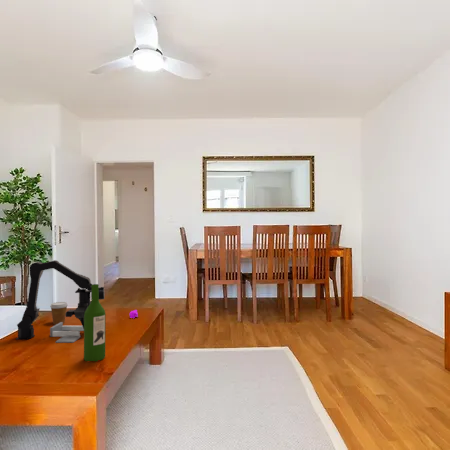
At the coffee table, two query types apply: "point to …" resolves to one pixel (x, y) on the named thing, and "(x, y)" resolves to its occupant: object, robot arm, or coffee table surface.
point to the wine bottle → (94, 328)
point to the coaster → (68, 339)
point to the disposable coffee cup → (58, 312)
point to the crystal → (133, 314)
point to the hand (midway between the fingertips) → (84, 328)
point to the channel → (65, 330)
